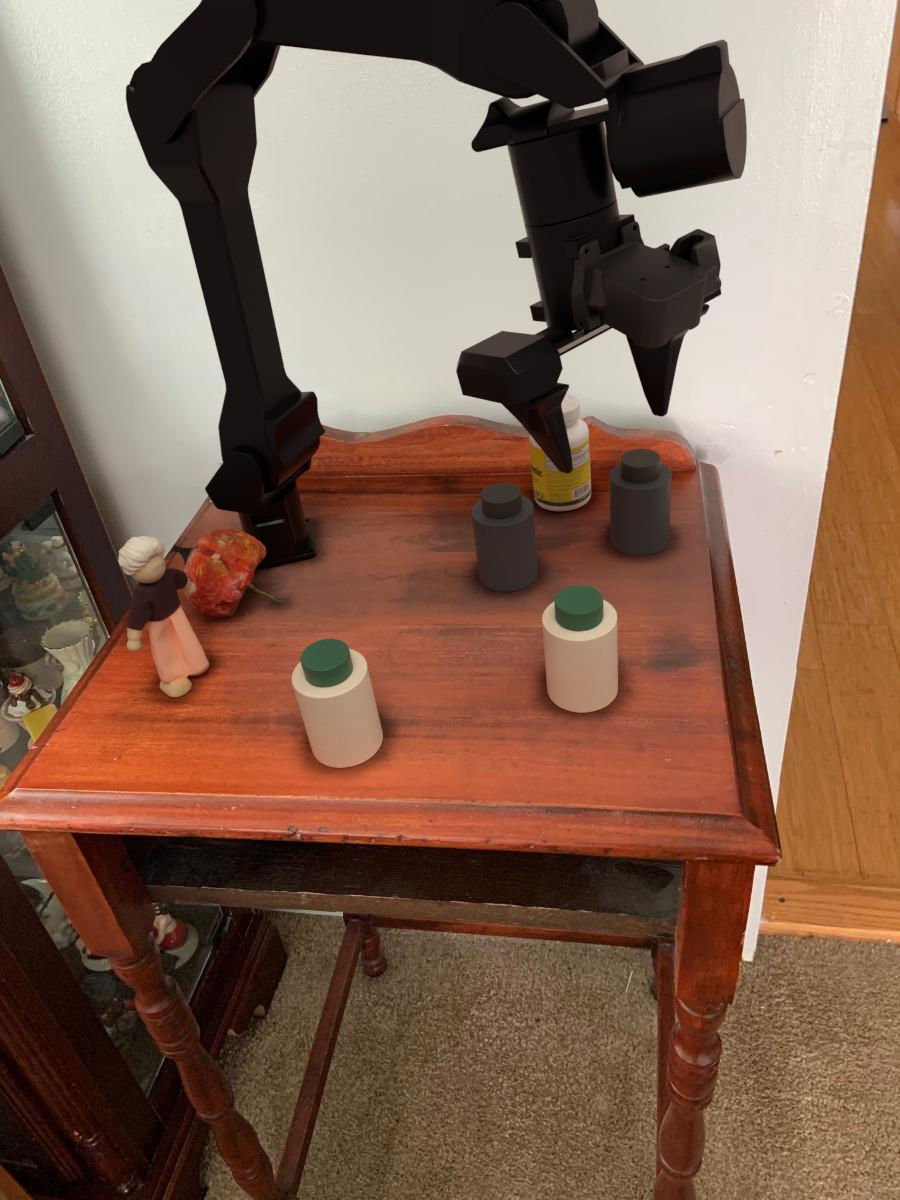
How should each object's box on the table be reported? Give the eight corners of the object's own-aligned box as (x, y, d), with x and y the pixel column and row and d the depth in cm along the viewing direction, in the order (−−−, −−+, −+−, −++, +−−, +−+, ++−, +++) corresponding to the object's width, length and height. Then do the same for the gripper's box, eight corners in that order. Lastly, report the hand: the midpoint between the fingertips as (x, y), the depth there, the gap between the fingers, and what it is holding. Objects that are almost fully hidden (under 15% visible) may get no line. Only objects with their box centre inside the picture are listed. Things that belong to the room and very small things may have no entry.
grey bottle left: (473, 564, 79) (463, 484, 74) (529, 553, 79) (523, 472, 74) (486, 597, 75) (477, 514, 70) (545, 584, 75) (539, 501, 70)
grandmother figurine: (190, 708, 68) (135, 569, 60) (144, 705, 69) (84, 568, 61) (230, 642, 74) (184, 509, 66) (187, 640, 75) (138, 508, 67)
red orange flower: (284, 596, 82) (186, 538, 80) (312, 551, 77) (208, 488, 75) (248, 655, 77) (143, 595, 75) (276, 611, 72) (164, 545, 70)
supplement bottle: (534, 485, 88) (527, 391, 83) (590, 482, 88) (587, 387, 82) (532, 514, 84) (525, 418, 78) (592, 512, 83) (589, 414, 77)
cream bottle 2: (538, 673, 66) (531, 585, 62) (604, 659, 67) (602, 570, 62) (558, 719, 62) (552, 629, 58) (628, 703, 63) (628, 612, 58)
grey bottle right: (602, 531, 81) (601, 450, 76) (656, 519, 81) (658, 438, 76) (622, 560, 77) (621, 477, 72) (678, 548, 77) (681, 465, 72)
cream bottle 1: (309, 725, 65) (284, 638, 60) (378, 709, 65) (358, 622, 61) (314, 775, 61) (288, 687, 56) (387, 758, 61) (367, 670, 57)
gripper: (541, 269, 46) (598, 533, 54) (779, 154, 53) (798, 403, 61) (421, 265, 54) (485, 493, 62) (640, 166, 61) (673, 383, 69)
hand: (614, 442), depth 63 cm, fingers open, 9 cm apart
